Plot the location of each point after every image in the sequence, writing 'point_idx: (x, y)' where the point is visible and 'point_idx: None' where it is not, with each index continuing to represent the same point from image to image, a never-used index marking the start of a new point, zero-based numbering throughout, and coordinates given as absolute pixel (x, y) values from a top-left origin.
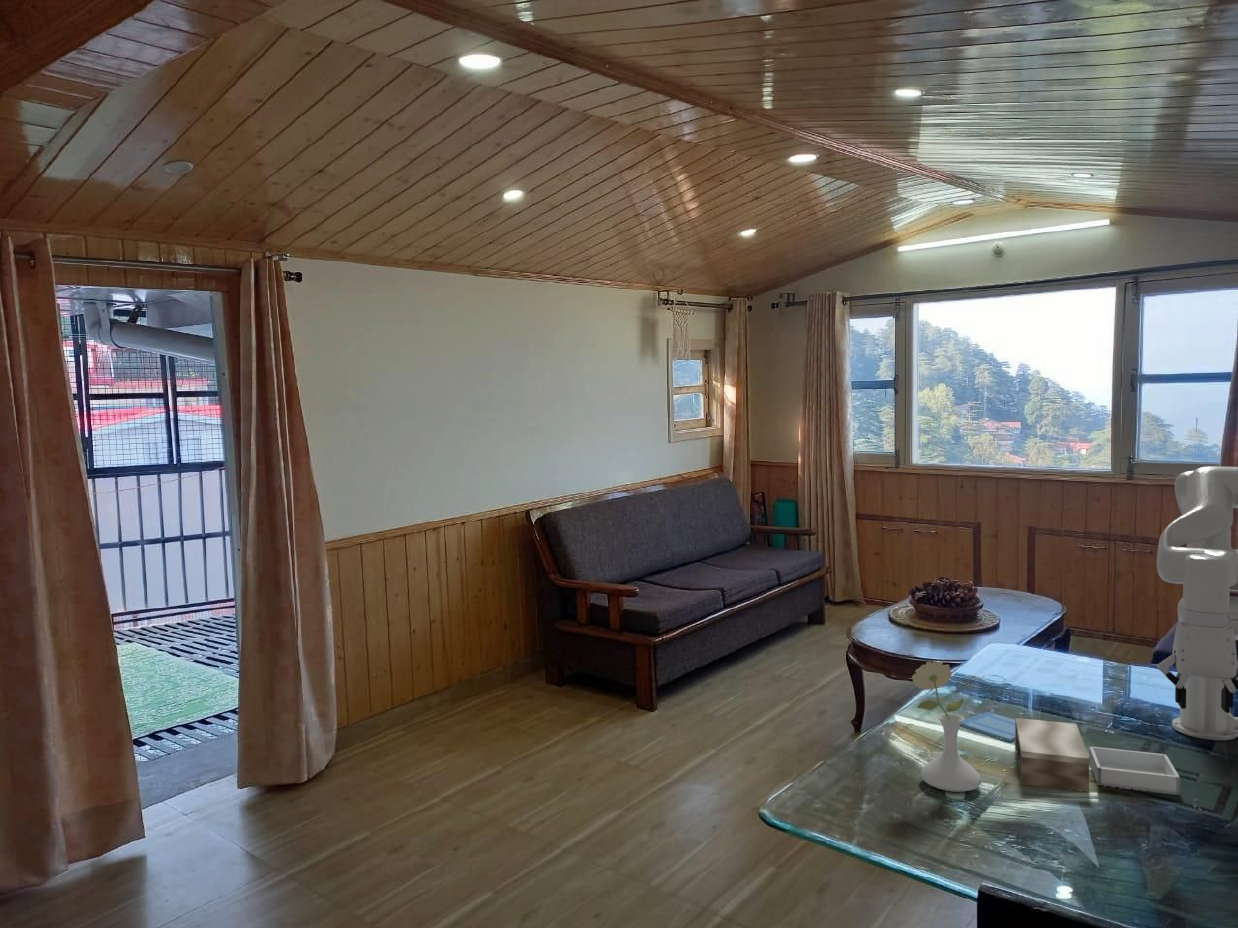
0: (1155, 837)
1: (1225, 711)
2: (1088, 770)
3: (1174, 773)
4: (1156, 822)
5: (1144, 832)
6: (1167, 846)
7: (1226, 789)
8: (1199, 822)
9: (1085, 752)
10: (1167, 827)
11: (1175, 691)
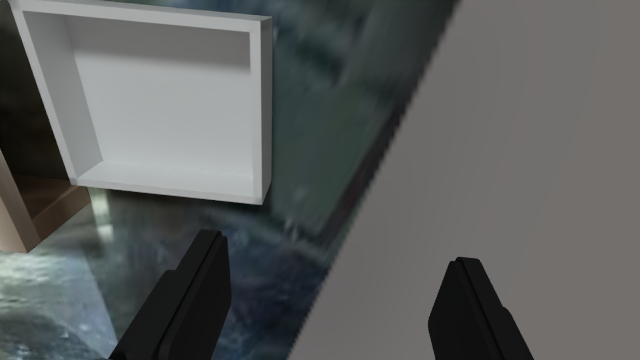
0: None
1: (428, 326)
2: (51, 231)
3: (253, 182)
4: None
5: None
6: None
7: (396, 123)
8: (277, 282)
9: (6, 216)
10: None
11: (134, 325)
